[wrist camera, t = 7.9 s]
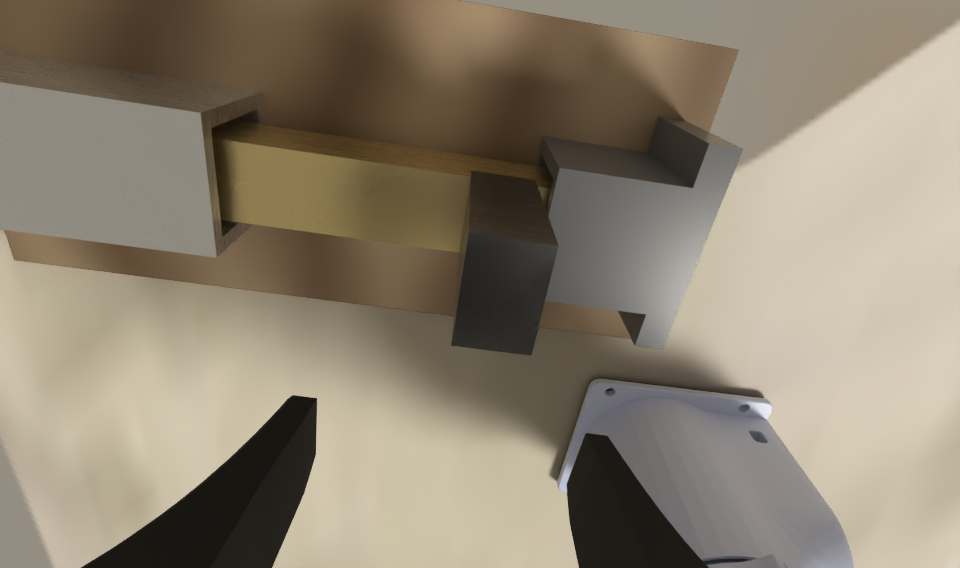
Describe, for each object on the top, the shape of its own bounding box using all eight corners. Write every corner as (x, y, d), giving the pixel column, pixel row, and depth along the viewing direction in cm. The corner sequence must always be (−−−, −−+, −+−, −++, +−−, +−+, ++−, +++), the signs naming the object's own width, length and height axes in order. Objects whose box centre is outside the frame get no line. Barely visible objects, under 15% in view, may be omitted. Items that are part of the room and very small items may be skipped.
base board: (726, 47, 18) (739, 49, 17) (627, 327, 23) (633, 339, 22) (-71, -93, 16) (-105, -100, 15) (33, 249, 21) (14, 260, 20)
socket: (685, 120, 18) (743, 149, 14) (628, 288, 21) (662, 349, 17) (549, 98, 17) (570, 121, 13) (513, 272, 21) (521, 331, 17)
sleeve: (263, 91, 17) (200, 112, 13) (269, 209, 19) (216, 257, 15) (-10, 48, 17) (-160, 57, 13) (26, 175, 19) (-92, 217, 15)
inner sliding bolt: (628, 174, 18) (719, 268, 11) (605, 249, 19) (674, 373, 12) (163, 102, 17) (-51, 159, 10) (175, 188, 18) (-4, 289, 11)
